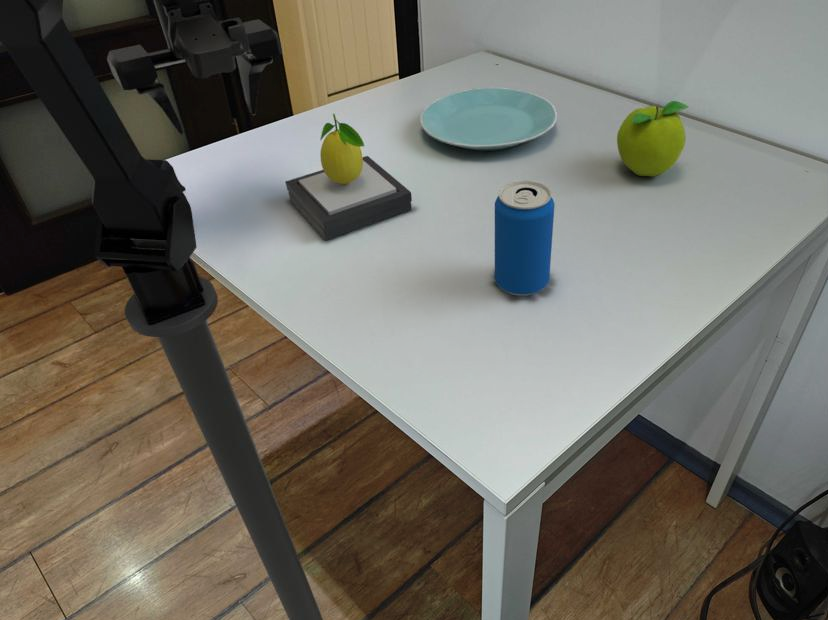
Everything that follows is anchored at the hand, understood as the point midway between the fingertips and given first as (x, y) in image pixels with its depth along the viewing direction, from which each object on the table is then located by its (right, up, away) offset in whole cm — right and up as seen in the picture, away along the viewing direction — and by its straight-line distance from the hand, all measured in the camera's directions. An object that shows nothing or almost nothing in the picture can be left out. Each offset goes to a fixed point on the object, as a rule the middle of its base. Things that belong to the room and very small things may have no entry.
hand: (217, 123), depth 84 cm
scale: (+15, -8, +10) cm, 20 cm away
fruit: (+58, -2, +15) cm, 60 cm away
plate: (+35, +7, +26) cm, 44 cm away
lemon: (+15, -6, +7) cm, 18 cm away
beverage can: (+38, -21, -4) cm, 43 cm away
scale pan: (+15, -7, +8) cm, 19 cm away
